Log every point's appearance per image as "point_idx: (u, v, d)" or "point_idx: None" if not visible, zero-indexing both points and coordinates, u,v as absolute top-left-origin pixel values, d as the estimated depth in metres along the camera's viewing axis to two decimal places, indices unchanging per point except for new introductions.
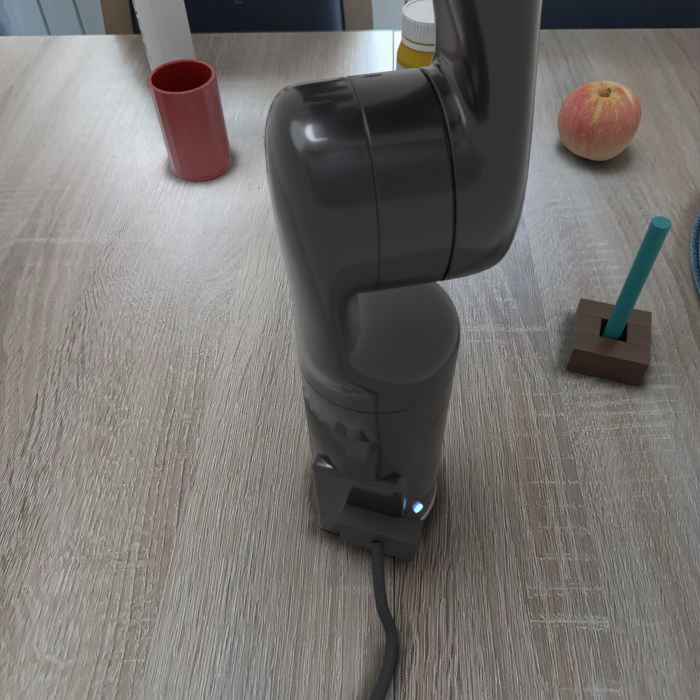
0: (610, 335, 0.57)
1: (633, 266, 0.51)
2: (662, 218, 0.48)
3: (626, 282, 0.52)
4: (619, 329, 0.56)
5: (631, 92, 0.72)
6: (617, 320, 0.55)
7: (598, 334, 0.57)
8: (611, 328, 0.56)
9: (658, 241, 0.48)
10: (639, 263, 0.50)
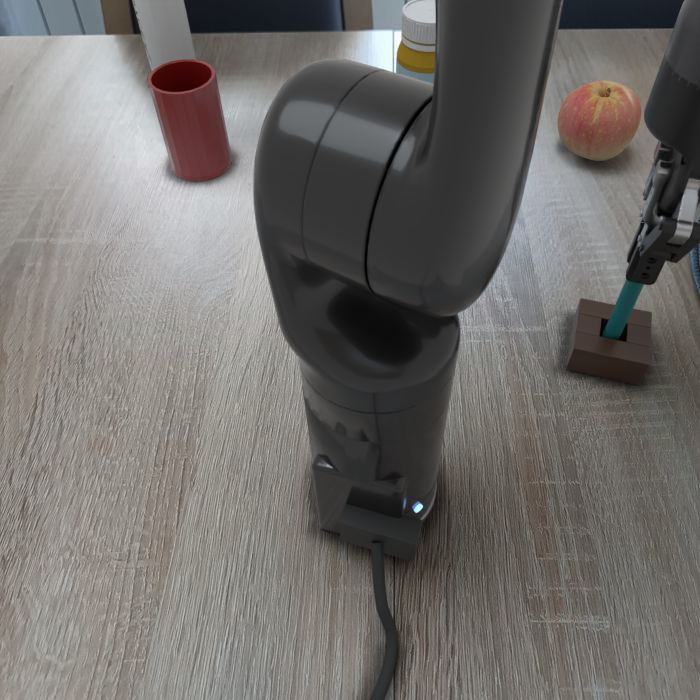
0: (610, 335, 0.57)
1: None
2: None
3: (626, 282, 0.52)
4: (619, 329, 0.56)
5: (631, 92, 0.72)
6: (617, 320, 0.55)
7: (598, 334, 0.57)
8: (611, 328, 0.56)
9: None
10: None
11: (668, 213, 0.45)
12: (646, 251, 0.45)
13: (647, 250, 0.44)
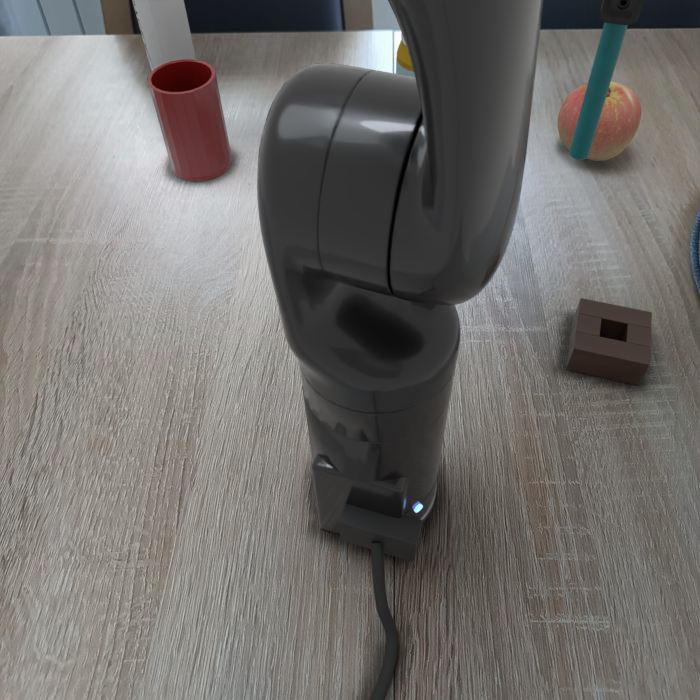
0: (584, 123, 0.45)
1: None
2: None
3: (602, 33, 0.41)
4: (595, 112, 0.45)
5: (631, 92, 0.72)
6: (592, 96, 0.44)
7: (598, 334, 0.57)
8: (585, 111, 0.45)
9: None
10: None
11: None
12: None
13: None
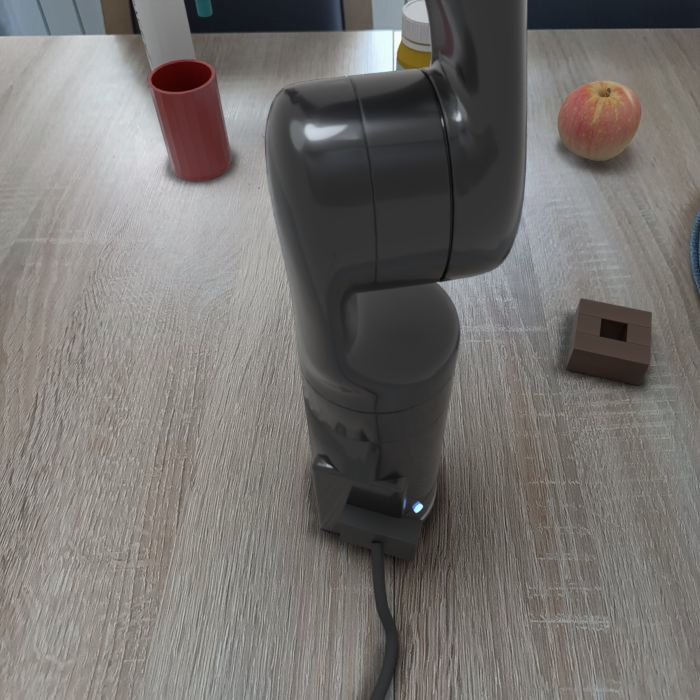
0: None
1: None
2: None
3: None
4: None
5: (631, 92, 0.72)
6: None
7: (598, 334, 0.57)
8: None
9: None
10: None
11: None
12: None
13: None
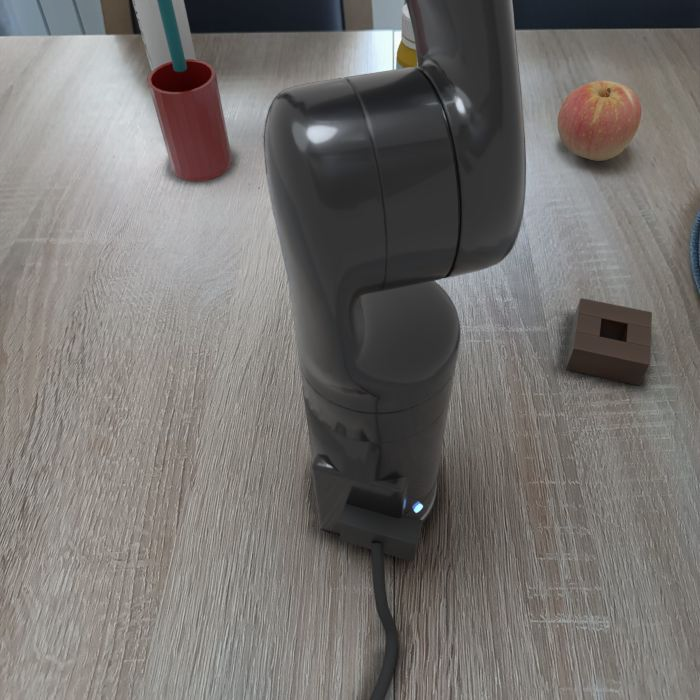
0: (169, 44, 0.67)
1: None
2: None
3: None
4: (171, 36, 0.66)
5: (631, 92, 0.72)
6: (164, 24, 0.65)
7: (598, 334, 0.57)
8: (166, 36, 0.66)
9: None
10: None
11: None
12: None
13: None
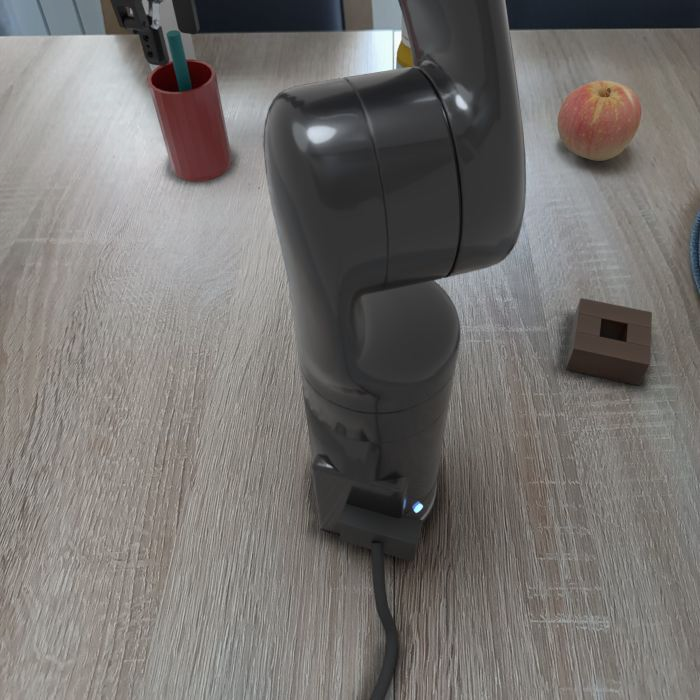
0: None
1: None
2: (175, 31, 0.67)
3: (179, 90, 0.72)
4: None
5: (631, 92, 0.72)
6: None
7: (598, 334, 0.57)
8: None
9: (174, 48, 0.67)
10: (175, 70, 0.69)
11: None
12: (115, 12, 0.59)
13: (114, 9, 0.59)
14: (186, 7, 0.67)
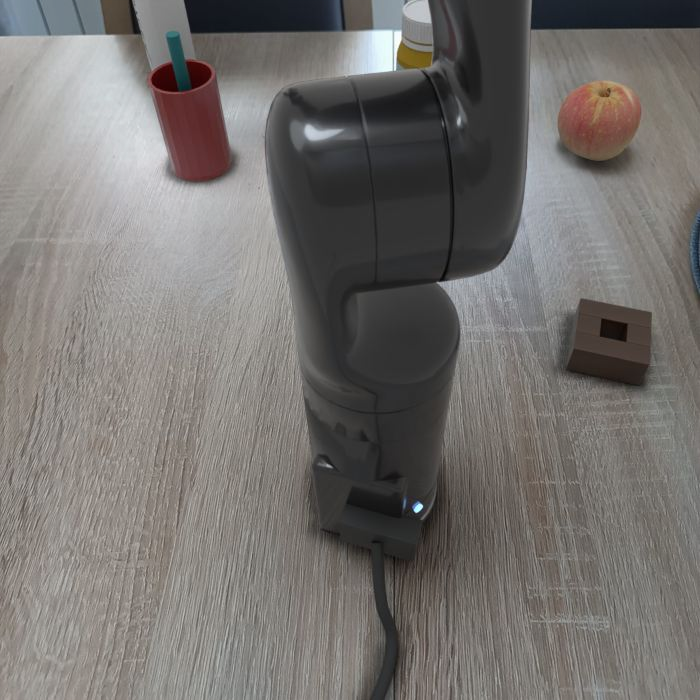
0: None
1: (175, 75, 0.70)
2: (174, 32, 0.67)
3: (179, 90, 0.71)
4: None
5: (631, 92, 0.72)
6: None
7: (598, 334, 0.57)
8: None
9: (174, 49, 0.67)
10: (174, 70, 0.69)
11: None
12: None
13: None
14: None
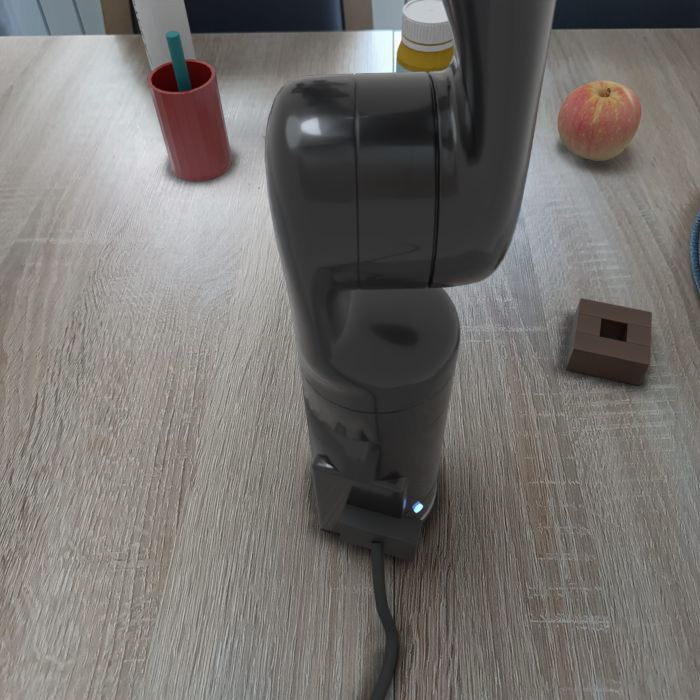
0: None
1: (175, 75, 0.70)
2: (174, 32, 0.67)
3: (179, 90, 0.71)
4: None
5: (631, 92, 0.72)
6: None
7: (598, 334, 0.57)
8: None
9: (174, 49, 0.67)
10: (174, 70, 0.69)
11: None
12: None
13: None
14: None
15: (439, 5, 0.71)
